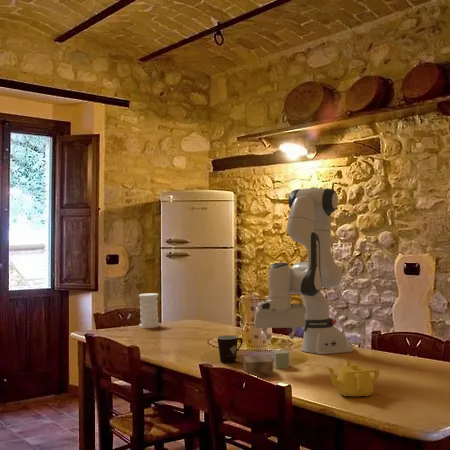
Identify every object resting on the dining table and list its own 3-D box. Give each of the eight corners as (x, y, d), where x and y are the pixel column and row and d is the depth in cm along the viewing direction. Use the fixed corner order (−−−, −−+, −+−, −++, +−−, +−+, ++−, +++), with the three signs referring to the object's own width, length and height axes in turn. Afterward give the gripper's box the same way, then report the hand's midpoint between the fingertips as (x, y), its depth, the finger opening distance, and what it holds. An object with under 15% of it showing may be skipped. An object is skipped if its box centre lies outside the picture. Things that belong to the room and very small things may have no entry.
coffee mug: (220, 364, 243) (220, 340, 243) (215, 360, 251) (214, 336, 251) (248, 362, 246) (247, 337, 246) (241, 357, 254) (241, 334, 254)
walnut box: (269, 370, 232) (268, 355, 232) (273, 377, 222) (272, 361, 222) (243, 371, 231) (243, 356, 231) (246, 378, 221) (245, 362, 221)
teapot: (348, 385, 208) (347, 357, 207) (383, 392, 198) (382, 363, 198) (325, 395, 198) (324, 365, 198) (360, 402, 188) (359, 371, 188)
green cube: (286, 365, 239) (286, 350, 239) (288, 368, 234) (288, 353, 234) (274, 365, 239) (274, 350, 239) (276, 368, 234) (275, 353, 234)
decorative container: (163, 325, 338) (163, 293, 338) (150, 328, 328) (150, 296, 328) (148, 323, 344) (147, 292, 344) (134, 327, 335) (133, 295, 334)
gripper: (304, 302, 240) (304, 337, 240) (253, 303, 239) (253, 337, 238) (307, 304, 233) (307, 339, 233) (255, 305, 232) (255, 340, 232)
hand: (279, 338), depth 236 cm, fingers open, 8 cm apart
